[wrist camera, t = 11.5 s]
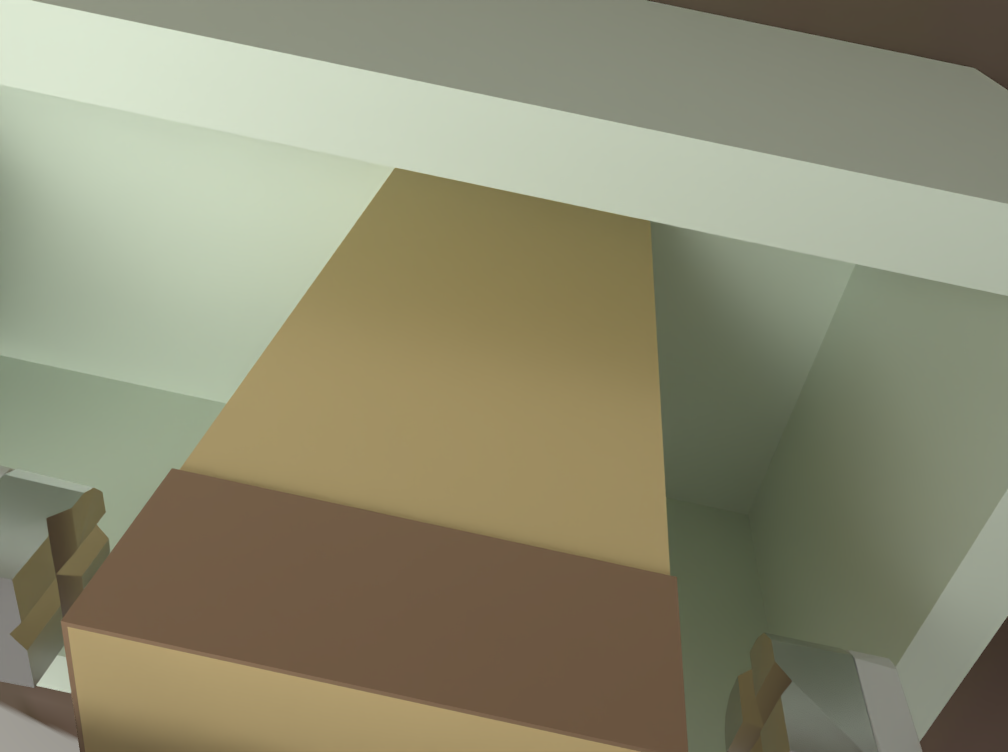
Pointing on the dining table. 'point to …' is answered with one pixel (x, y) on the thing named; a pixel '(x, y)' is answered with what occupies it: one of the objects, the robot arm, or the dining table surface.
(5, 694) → the dining table surface
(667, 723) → the oat carton
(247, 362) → the tote
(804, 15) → the dining table surface
